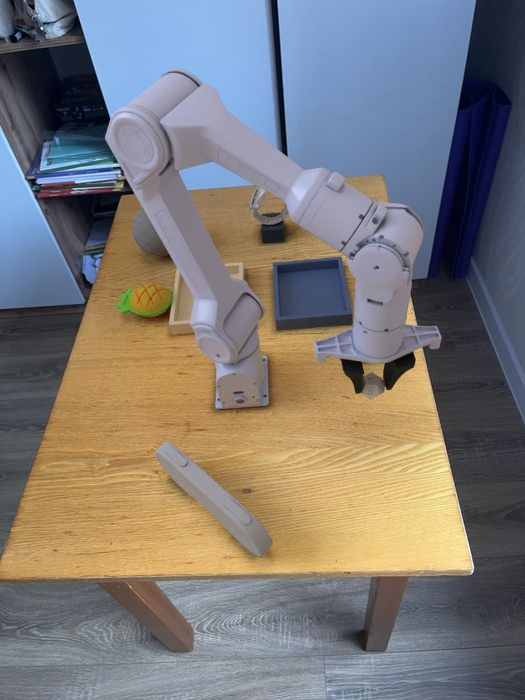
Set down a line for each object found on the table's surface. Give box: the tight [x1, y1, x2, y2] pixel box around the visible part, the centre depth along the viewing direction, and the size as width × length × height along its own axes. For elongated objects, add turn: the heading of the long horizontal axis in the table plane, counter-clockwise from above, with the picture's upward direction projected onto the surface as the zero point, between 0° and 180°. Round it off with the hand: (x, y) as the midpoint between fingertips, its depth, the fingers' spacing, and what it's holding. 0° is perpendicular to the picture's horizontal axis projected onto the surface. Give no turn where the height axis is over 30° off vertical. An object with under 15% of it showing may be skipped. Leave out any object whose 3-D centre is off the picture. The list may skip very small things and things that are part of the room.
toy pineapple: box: [115, 283, 173, 318], centre depth 90 cm, size 7×10×5 cm
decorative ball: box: [131, 208, 170, 257], centre depth 99 cm, size 10×10×10 cm
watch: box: [249, 186, 289, 244], centre depth 99 cm, size 6×8×11 cm
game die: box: [361, 371, 386, 400], centre depth 67 cm, size 4×4×3 cm
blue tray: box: [272, 255, 353, 331], centre depth 89 cm, size 15×13×2 cm
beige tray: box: [168, 261, 246, 336], centre depth 91 cm, size 15×13×2 cm
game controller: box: [154, 441, 274, 558], centre depth 64 cm, size 20×2×8 cm, turn 47°
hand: (372, 385), depth 67 cm, fingers closed on game die, 3 cm apart
